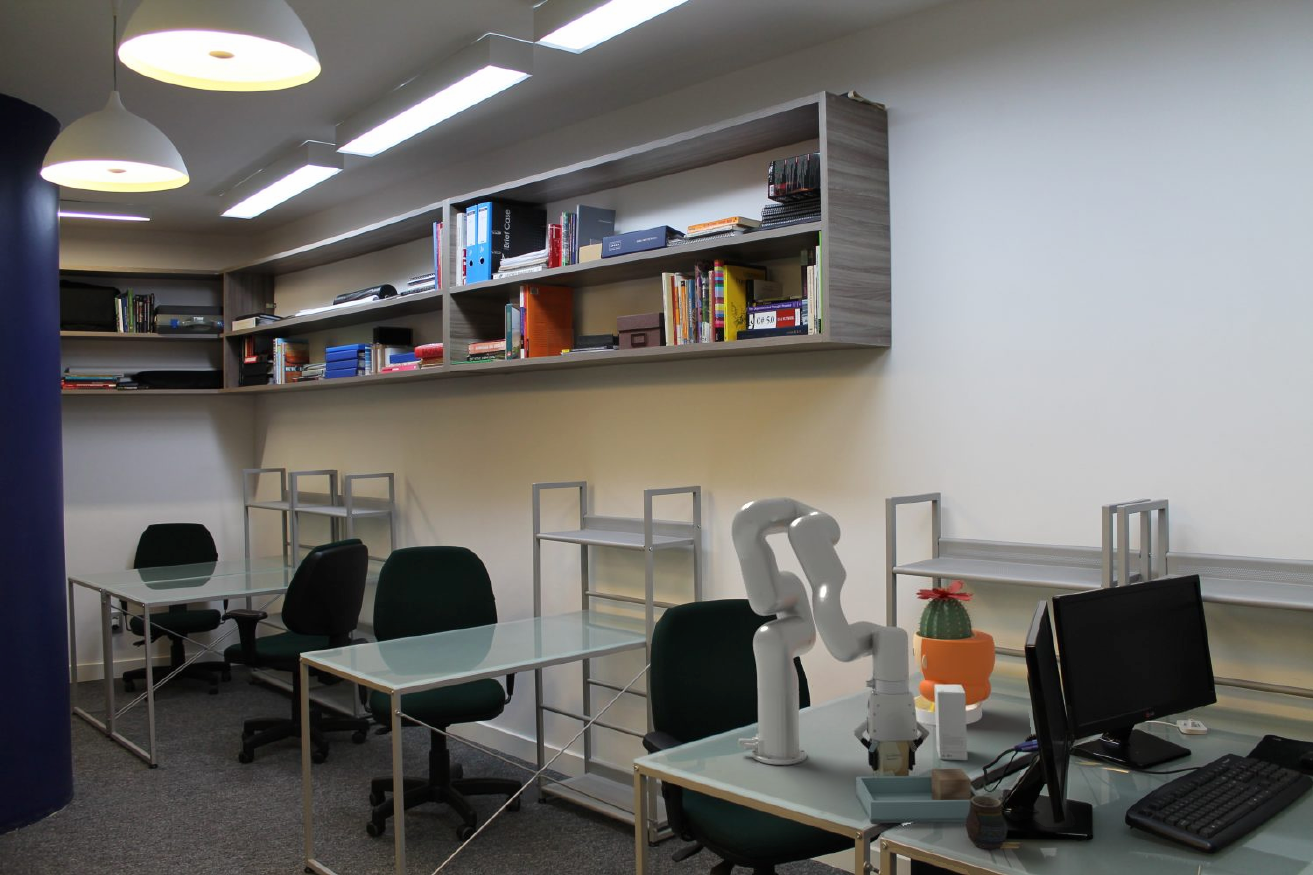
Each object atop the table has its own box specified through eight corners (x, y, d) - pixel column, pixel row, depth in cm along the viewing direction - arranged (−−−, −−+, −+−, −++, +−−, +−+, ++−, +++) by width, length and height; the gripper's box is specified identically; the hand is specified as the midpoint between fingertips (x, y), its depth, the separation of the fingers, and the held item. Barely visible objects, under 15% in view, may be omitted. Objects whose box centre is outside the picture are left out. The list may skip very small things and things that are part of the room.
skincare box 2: (967, 761, 221) (966, 693, 221) (937, 759, 222) (936, 691, 222) (963, 749, 229) (962, 683, 229) (934, 748, 230) (933, 682, 230)
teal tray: (871, 823, 187) (870, 802, 187) (856, 795, 201) (856, 776, 201) (985, 821, 187) (985, 801, 187) (962, 794, 201) (962, 775, 201)
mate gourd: (1000, 835, 180) (1000, 782, 180) (1013, 853, 173) (1013, 797, 173) (961, 835, 181) (961, 782, 181) (973, 852, 173) (972, 797, 173)
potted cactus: (895, 716, 256) (893, 584, 256) (941, 700, 271) (939, 575, 271) (969, 734, 240) (968, 593, 240) (1014, 716, 255) (1012, 583, 255)
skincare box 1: (883, 788, 205) (882, 730, 205) (873, 781, 209) (872, 724, 209) (910, 785, 206) (910, 727, 206) (900, 778, 211) (899, 722, 211)
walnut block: (940, 809, 191) (940, 779, 191) (931, 798, 197) (931, 768, 197) (970, 809, 191) (970, 779, 191) (961, 798, 197) (961, 768, 197)
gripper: (853, 690, 204) (854, 775, 204) (936, 689, 204) (937, 774, 204) (846, 681, 211) (847, 763, 212) (926, 680, 211) (927, 762, 211)
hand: (891, 767), depth 208 cm, fingers closed on skincare box 1, 7 cm apart
